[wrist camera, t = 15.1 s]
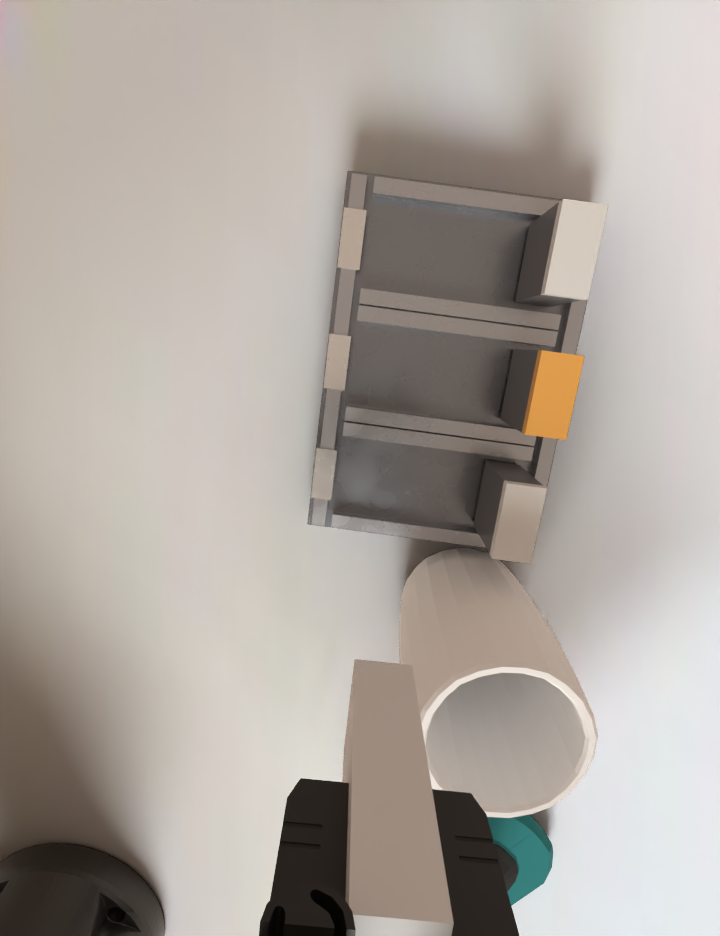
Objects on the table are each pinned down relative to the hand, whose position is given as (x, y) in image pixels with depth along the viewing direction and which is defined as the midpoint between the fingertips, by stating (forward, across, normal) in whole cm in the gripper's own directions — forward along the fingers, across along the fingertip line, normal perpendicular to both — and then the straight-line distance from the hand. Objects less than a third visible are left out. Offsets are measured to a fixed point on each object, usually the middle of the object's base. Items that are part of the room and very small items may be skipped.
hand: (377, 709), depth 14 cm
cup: (+22, +7, -6) cm, 24 cm away
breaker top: (+19, +8, +15) cm, 25 cm away
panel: (+22, +4, +8) cm, 23 cm away
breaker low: (+19, +7, +2) cm, 20 cm away
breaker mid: (+19, +8, +8) cm, 22 cm away
